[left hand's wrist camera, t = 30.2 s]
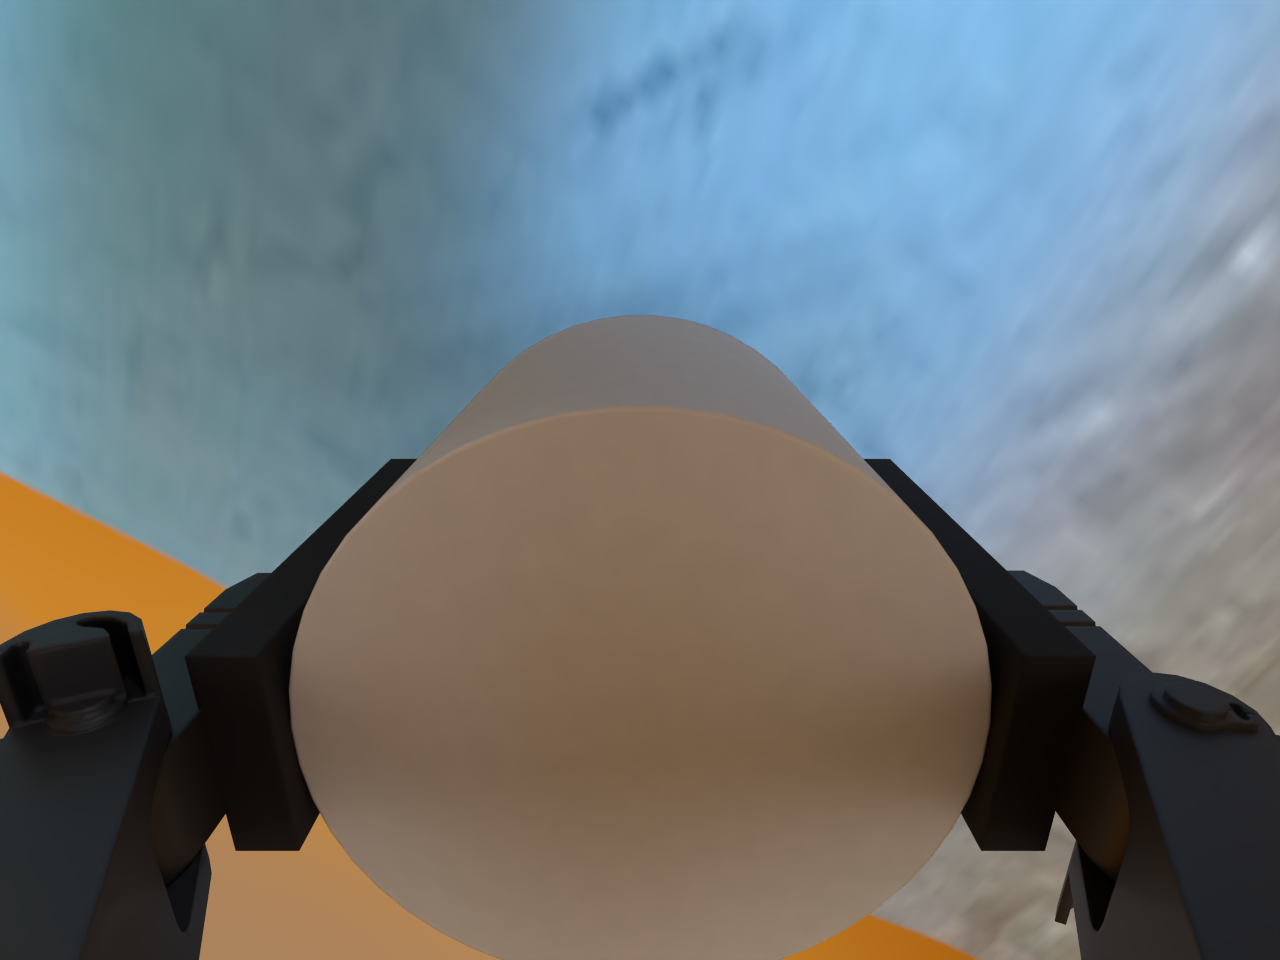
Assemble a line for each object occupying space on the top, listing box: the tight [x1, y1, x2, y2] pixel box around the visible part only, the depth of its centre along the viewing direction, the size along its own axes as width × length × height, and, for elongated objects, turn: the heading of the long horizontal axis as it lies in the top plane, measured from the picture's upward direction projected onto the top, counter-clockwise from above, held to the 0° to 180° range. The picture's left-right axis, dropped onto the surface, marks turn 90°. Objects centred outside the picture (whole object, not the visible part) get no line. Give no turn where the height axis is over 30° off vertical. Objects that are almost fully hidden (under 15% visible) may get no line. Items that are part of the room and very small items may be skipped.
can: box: [289, 315, 992, 960], centre depth 11 cm, size 8×8×7 cm
